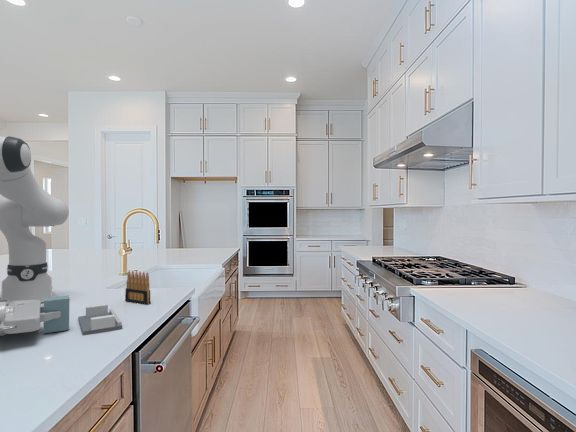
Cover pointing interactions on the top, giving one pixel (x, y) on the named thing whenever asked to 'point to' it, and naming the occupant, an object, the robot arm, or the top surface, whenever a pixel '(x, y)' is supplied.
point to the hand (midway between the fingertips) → (60, 311)
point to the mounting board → (87, 325)
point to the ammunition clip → (137, 288)
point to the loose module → (57, 305)
